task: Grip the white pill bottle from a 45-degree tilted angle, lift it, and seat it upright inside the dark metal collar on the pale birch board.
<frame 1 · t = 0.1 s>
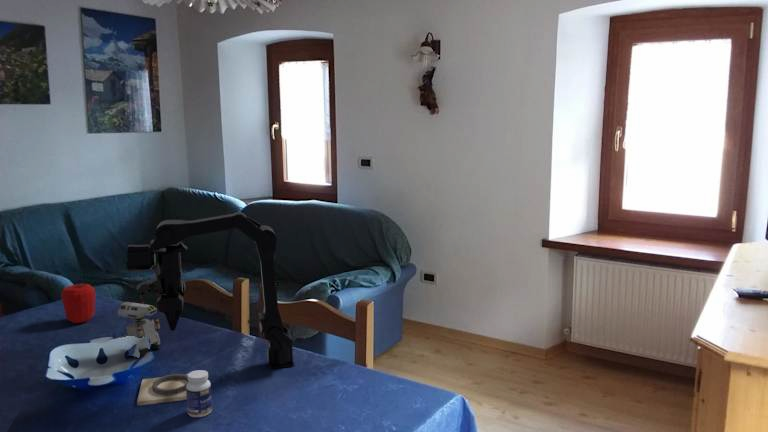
hand: (173, 324, 168), 15 cm above the table, tool pointing down, fingers open, 9 cm apart
collar board: (172, 389, 162), on the table
apple: (81, 321, 213), on the table
figurine: (139, 352, 187), on the table
pill bottle: (200, 413, 151), on the table
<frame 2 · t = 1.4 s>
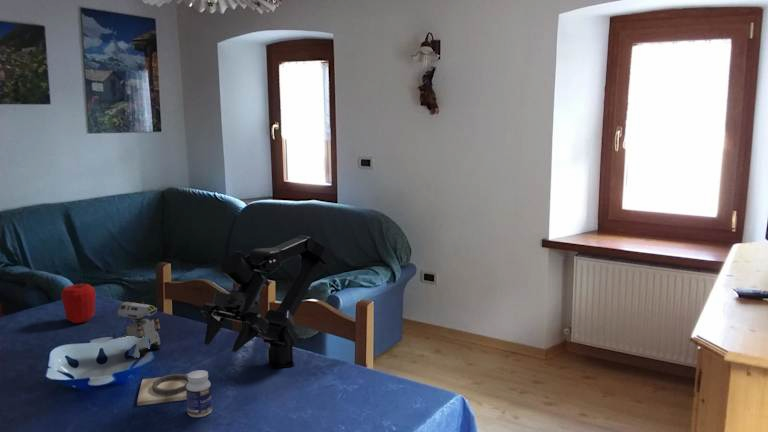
hand: (219, 348, 156), 13 cm above the table, tool tilted 45°, fingers open, 9 cm apart
nothing on the table moved.
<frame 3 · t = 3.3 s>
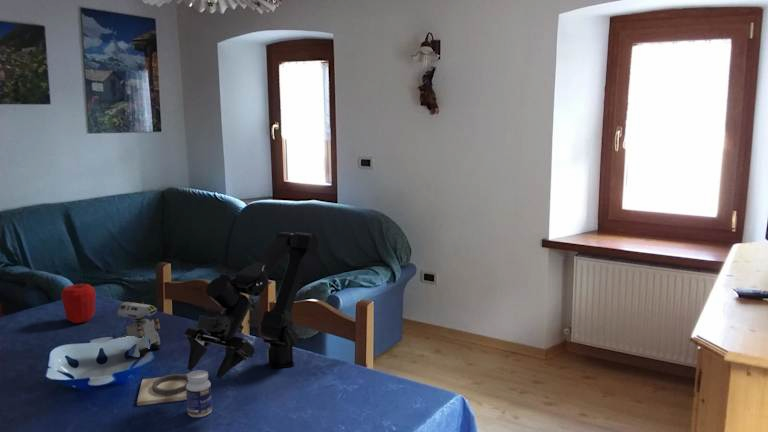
hand: (202, 374, 151), 9 cm above the table, tool tilted 45°, fingers open, 9 cm apart
nothing on the table moved.
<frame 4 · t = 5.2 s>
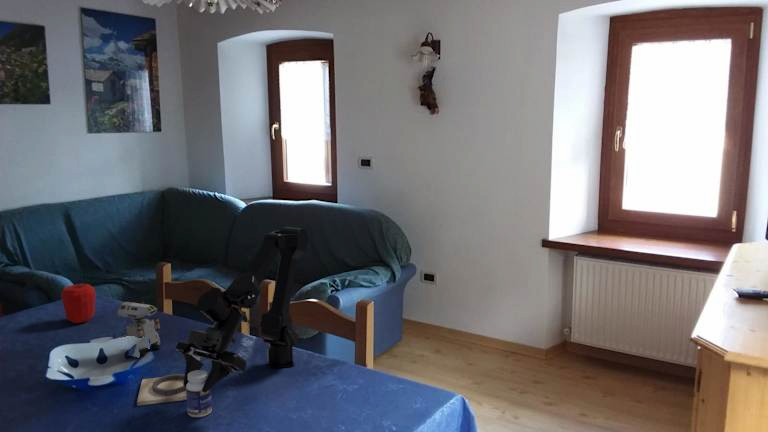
hand: (194, 389, 149), 7 cm above the table, tool tilted 45°, fingers closed on pill bottle, 6 cm apart
pill bottle: (200, 413, 151), on the table, touching gripper
everything else where it was.
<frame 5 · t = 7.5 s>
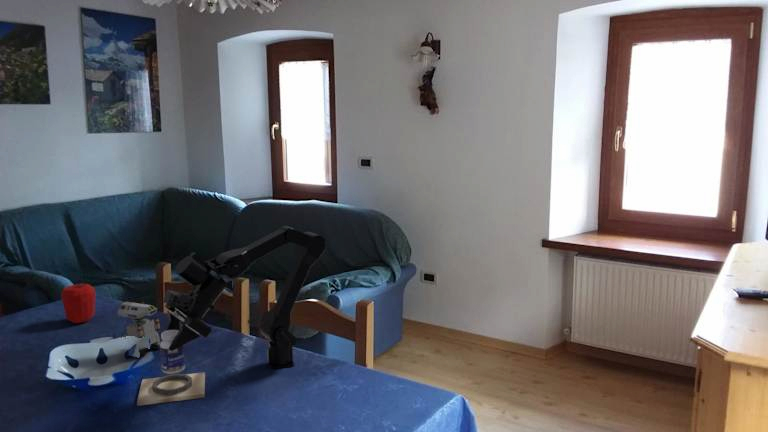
hand: (166, 346, 157), 13 cm above the table, tool tilted 45°, fingers closed on pill bottle, 6 cm apart
pill bottle: (173, 370, 159), point 6 cm above the table, touching gripper
everything else where it was.
when the fingers open (10 cm above the table, at t = 10.0 s): pill bottle drops 2 cm, resting on collar board.
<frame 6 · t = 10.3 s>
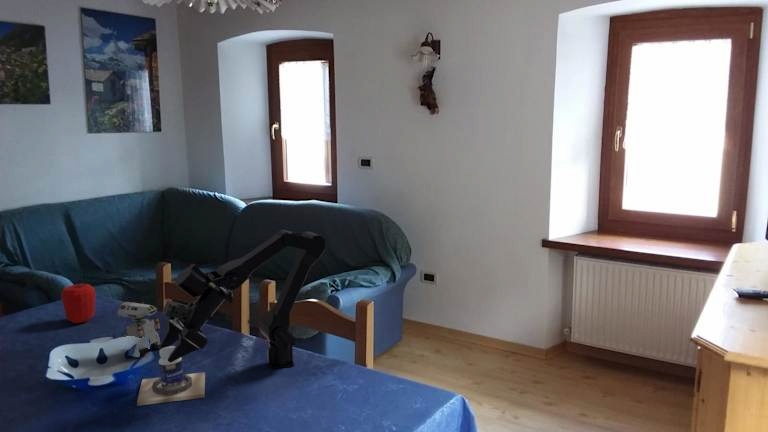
hand: (164, 355, 160), 10 cm above the table, tool tilted 45°, fingers open, 8 cm apart
pill bottle: (173, 386, 162), point 1 cm above the table, touching collar board
everything else where it was.
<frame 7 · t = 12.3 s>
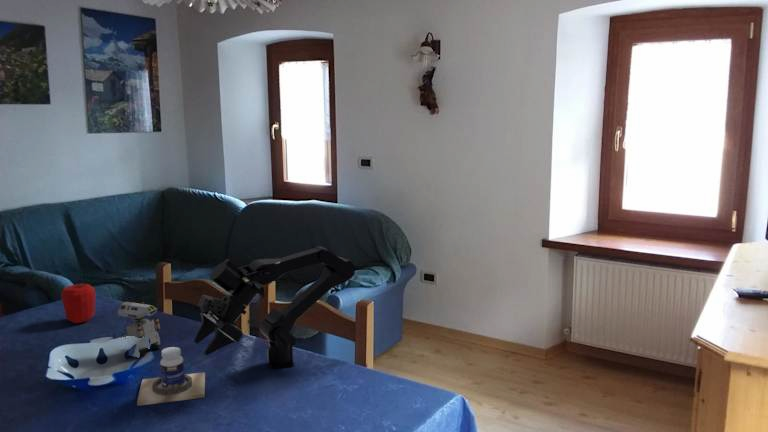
hand: (200, 348, 165), 10 cm above the table, tool tilted 45°, fingers open, 9 cm apart
nothing on the table moved.
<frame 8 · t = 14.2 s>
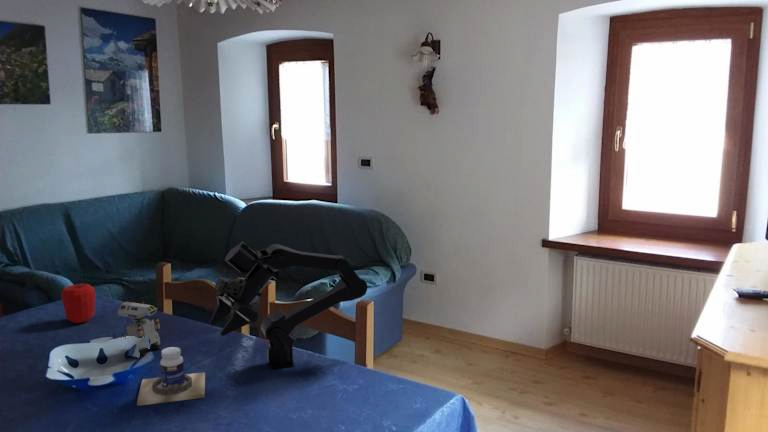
hand: (216, 329, 167), 14 cm above the table, tool tilted 45°, fingers open, 9 cm apart
nothing on the table moved.
at the end: pill bottle 0.2 cm off-centre on the collar board, point 0.8 cm above the collar board's base; pill bottle tilted 0°; the gripper is holding nothing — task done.
